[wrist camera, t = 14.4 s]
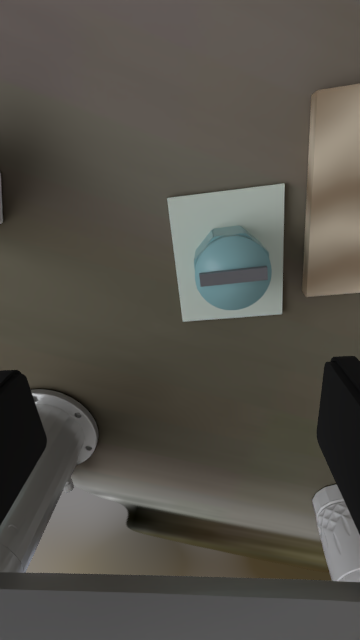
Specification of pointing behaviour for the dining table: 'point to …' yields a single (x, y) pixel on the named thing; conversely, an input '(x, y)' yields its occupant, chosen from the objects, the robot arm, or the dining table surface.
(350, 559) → the white cup
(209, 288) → the cap
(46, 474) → the robot arm
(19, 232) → the dining table surface
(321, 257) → the post base
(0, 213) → the jar
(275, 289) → the mat
